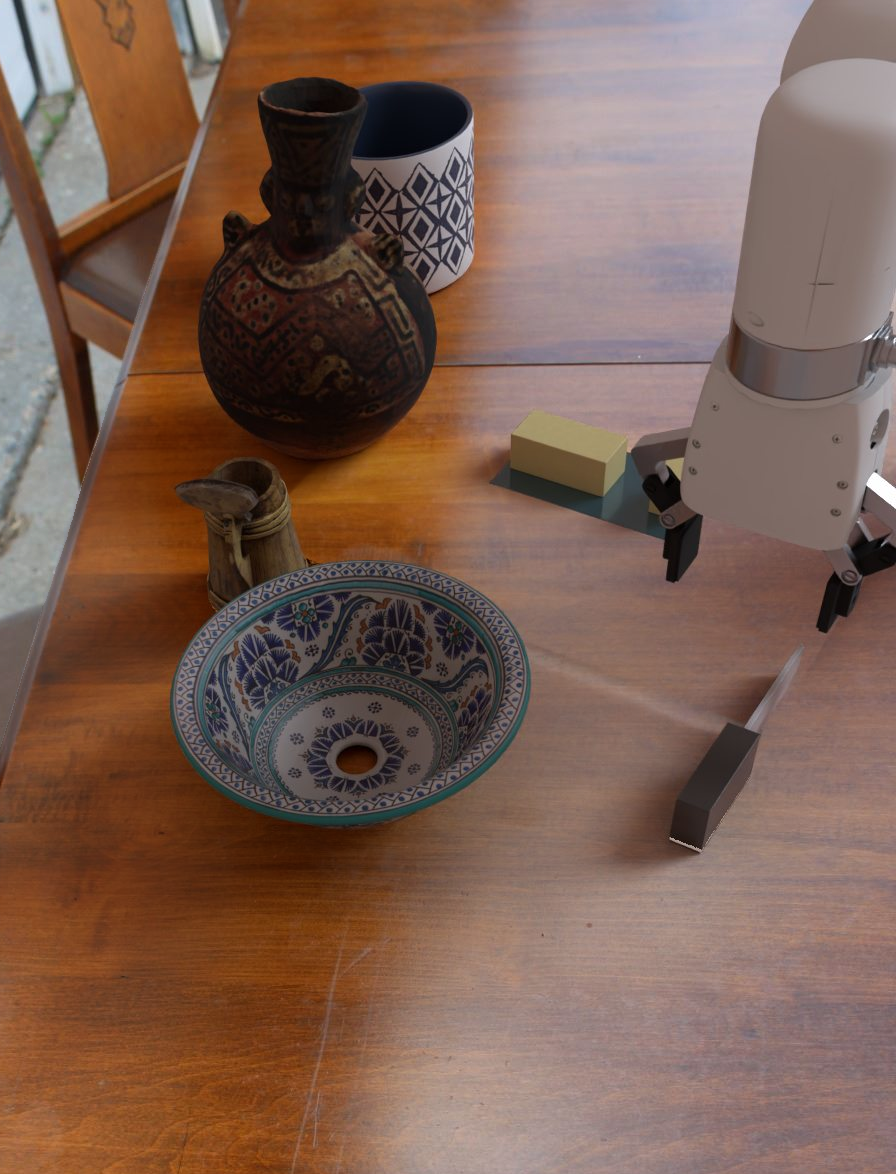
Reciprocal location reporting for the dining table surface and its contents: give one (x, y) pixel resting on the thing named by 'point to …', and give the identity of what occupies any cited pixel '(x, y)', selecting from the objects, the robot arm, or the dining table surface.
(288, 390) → the ceramic vessel
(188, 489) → the wooden mug
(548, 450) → the butter stick
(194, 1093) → the dining table surface
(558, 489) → the flat slate board
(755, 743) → the knife
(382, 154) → the planter
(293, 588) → the bowl
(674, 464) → the butter slice
